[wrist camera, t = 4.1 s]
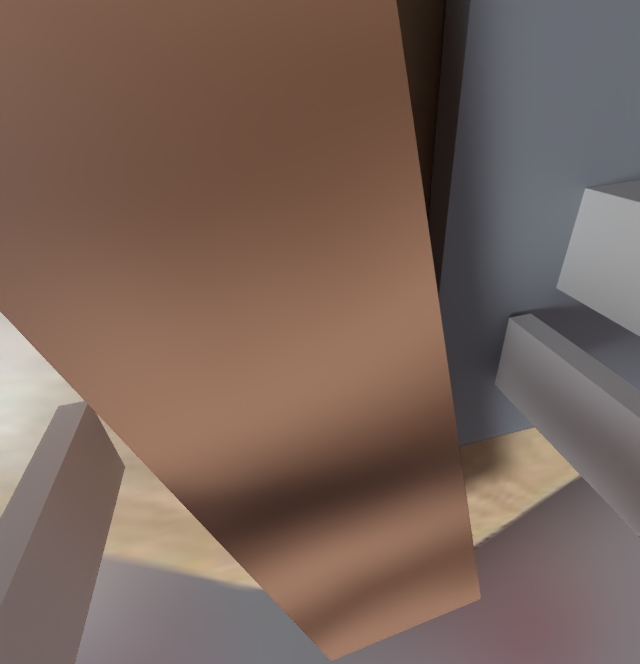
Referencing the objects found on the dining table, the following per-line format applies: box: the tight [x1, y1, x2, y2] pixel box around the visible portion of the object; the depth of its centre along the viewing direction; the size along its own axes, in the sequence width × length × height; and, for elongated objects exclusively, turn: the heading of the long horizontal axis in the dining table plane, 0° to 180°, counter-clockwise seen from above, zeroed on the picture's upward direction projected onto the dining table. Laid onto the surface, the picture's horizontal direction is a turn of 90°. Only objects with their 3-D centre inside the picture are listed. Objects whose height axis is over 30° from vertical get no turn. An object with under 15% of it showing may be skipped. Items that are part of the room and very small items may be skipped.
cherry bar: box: [0, 0, 481, 661], centre depth 11 cm, size 20×6×5 cm, turn 17°
